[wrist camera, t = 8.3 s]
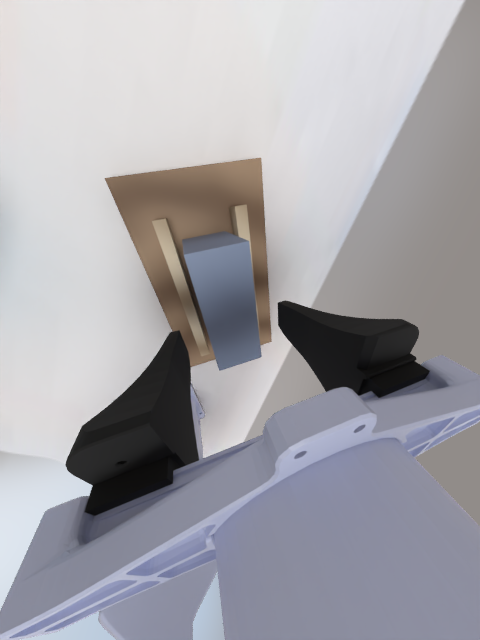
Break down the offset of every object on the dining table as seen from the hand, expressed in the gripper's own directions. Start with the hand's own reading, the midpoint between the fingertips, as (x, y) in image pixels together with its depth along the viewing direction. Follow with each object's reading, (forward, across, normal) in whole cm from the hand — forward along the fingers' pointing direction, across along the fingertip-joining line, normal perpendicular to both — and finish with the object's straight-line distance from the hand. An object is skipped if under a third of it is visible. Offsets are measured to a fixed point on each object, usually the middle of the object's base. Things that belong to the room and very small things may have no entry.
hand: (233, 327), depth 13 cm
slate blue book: (+8, 0, 0) cm, 8 cm away
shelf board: (+9, 0, 0) cm, 9 cm away
